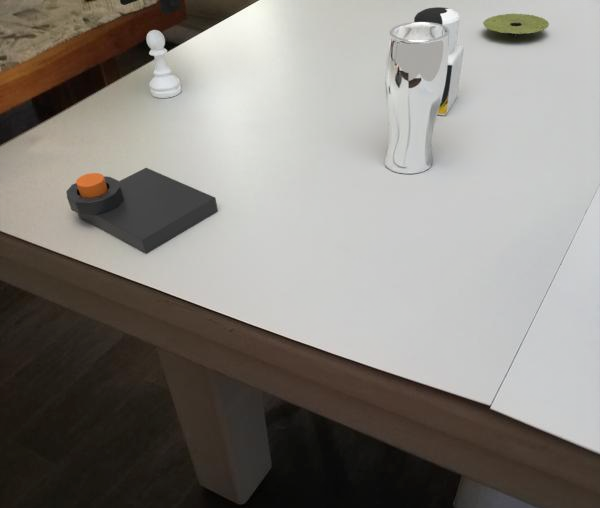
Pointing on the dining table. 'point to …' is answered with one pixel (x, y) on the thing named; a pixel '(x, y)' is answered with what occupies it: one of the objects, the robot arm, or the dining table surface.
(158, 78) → the chess pawn
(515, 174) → the dining table surface
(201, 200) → the dark grey button base
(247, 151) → the dining table surface
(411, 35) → the beer glass
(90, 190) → the tare button
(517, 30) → the green disc
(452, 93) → the medicine bottle
